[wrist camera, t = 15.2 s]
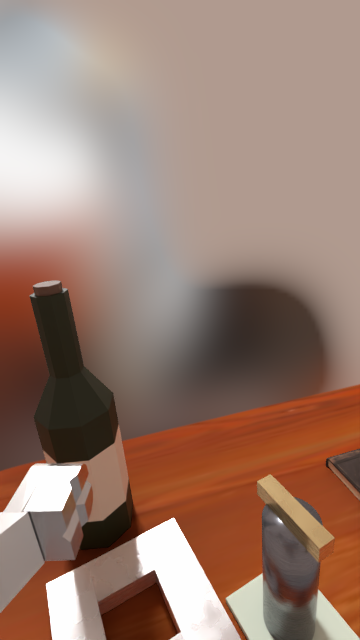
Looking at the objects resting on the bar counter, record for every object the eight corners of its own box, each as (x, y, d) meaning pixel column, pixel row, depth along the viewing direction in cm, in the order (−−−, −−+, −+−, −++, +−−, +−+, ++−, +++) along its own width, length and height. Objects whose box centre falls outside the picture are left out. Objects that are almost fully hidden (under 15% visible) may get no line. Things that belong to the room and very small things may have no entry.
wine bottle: (92, 484, 46) (43, 273, 36) (145, 498, 43) (109, 273, 33) (51, 539, 39) (-25, 295, 29) (112, 560, 36) (52, 298, 26)
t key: (246, 595, 31) (242, 489, 27) (282, 571, 33) (284, 467, 28) (296, 676, 26) (302, 560, 21) (336, 642, 28) (350, 527, 23)
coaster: (226, 602, 31) (225, 598, 31) (289, 558, 35) (289, 554, 34) (286, 709, 25) (286, 705, 24) (358, 643, 28) (359, 638, 28)
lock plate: (50, 597, 33) (46, 584, 32) (175, 530, 39) (173, 517, 38) (76, 812, 21) (69, 798, 21) (250, 670, 27) (250, 656, 26)
